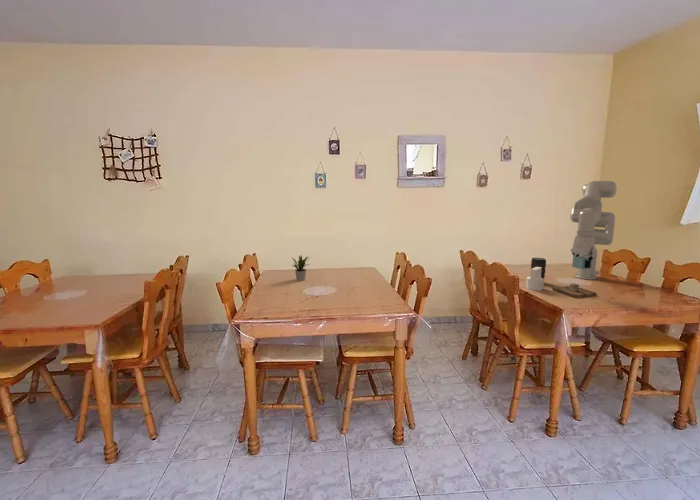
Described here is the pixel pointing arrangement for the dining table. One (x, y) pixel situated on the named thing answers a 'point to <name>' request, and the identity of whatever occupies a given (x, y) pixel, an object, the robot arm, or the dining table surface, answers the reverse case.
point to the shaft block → (574, 291)
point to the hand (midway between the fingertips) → (581, 265)
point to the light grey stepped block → (535, 279)
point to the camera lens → (539, 265)
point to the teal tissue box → (580, 262)
